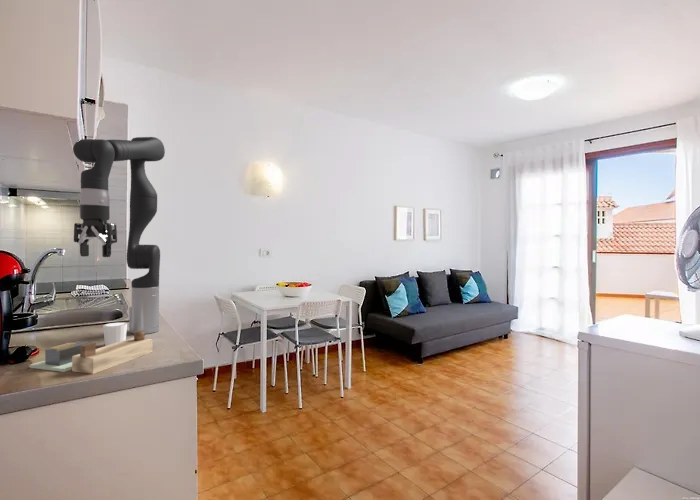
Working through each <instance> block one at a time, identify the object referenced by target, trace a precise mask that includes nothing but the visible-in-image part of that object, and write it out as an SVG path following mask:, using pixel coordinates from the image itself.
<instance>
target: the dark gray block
mask: <svg viewBox="0 0 700 500" xmlns="http://www.w3.org/2000/svg"><path fill="white" fill-rule="evenodd" d="M88 343H92V342H89V341H79V340H77V341H73V342H66V343H62V344H59V345H54V346H50V348H46V349H44V351H45V355H44V357H45V358H44V359H45V364H48V365H56V366H61V365H64V364H67V363H70V362H72V356H75V355H78V354H80V346H81V345H85V344H88Z"/></svg>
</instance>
